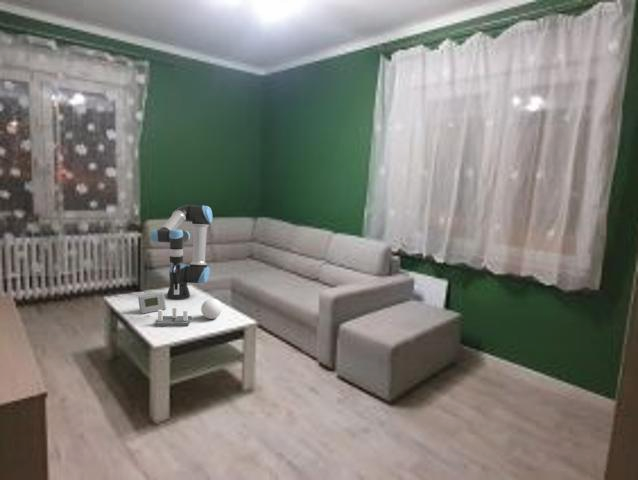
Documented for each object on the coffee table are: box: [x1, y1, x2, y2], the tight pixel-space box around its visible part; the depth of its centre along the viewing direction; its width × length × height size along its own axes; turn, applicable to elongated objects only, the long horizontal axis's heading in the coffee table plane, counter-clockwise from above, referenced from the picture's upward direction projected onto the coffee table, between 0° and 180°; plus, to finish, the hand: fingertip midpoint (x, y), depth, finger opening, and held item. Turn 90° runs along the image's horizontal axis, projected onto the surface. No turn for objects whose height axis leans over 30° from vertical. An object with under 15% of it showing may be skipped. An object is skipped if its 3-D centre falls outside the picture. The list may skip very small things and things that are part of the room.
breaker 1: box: [157, 310, 164, 321], centre depth 239 cm, size 2×2×6 cm
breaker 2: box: [182, 309, 189, 321], centre depth 241 cm, size 2×2×6 cm
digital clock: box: [137, 292, 167, 315], centre depth 260 cm, size 16×9×11 cm, turn 122°
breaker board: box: [154, 315, 192, 328], centre depth 243 cm, size 12×18×2 cm, turn 98°
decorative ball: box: [200, 298, 223, 320], centre depth 252 cm, size 12×12×12 cm
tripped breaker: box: [172, 306, 178, 318], centre depth 245 cm, size 2×2×6 cm
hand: (176, 294), depth 249 cm, fingers closed
